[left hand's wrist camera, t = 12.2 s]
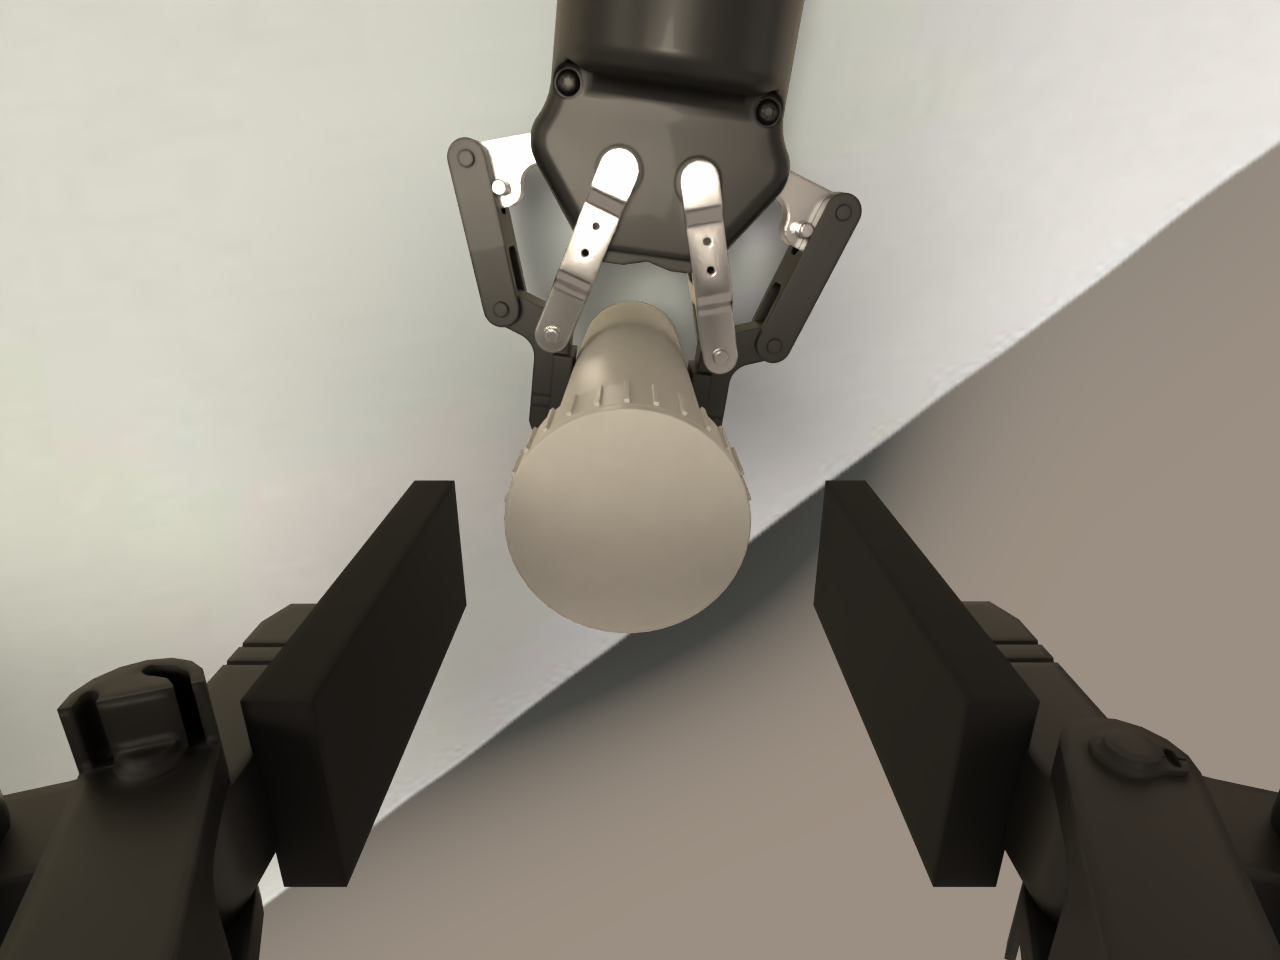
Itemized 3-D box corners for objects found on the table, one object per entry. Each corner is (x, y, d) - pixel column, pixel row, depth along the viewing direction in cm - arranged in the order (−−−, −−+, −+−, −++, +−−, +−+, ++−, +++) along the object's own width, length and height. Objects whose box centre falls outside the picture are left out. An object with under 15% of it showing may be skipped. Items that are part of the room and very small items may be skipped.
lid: (468, 478, 17) (446, 515, 15) (641, 330, 16) (643, 349, 14) (616, 627, 18) (615, 677, 17) (785, 501, 17) (805, 540, 15)
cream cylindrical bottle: (563, 344, 33) (485, 508, 15) (636, 280, 32) (640, 379, 15) (625, 414, 34) (618, 640, 17) (697, 354, 33) (768, 529, 16)
